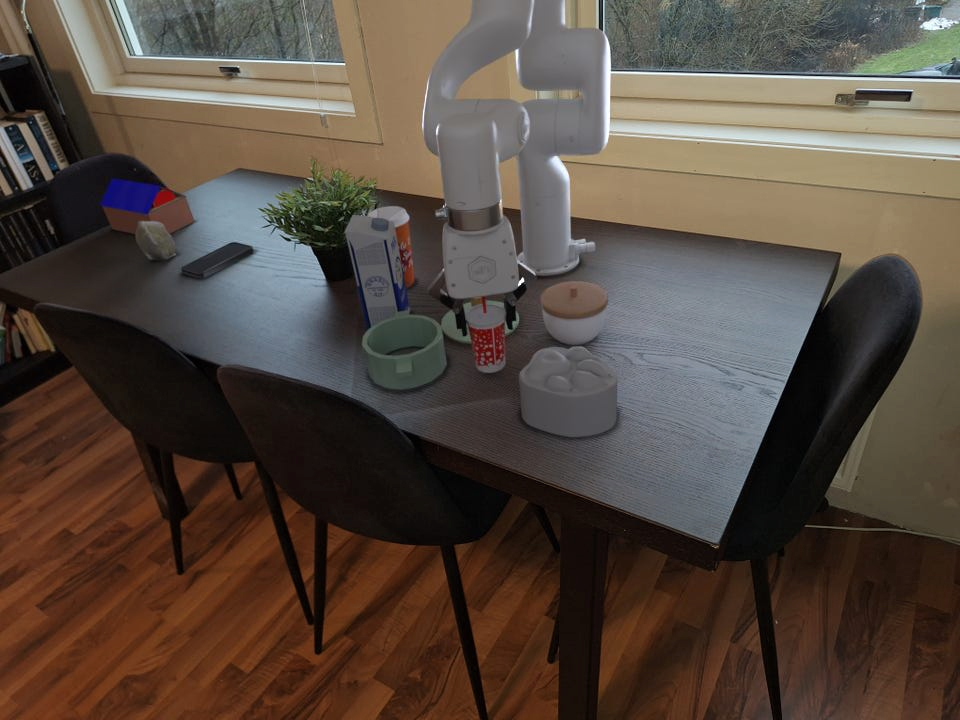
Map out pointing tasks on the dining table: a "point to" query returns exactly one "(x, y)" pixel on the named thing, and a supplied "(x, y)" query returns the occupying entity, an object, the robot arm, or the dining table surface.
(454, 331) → the lid
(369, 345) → the pot
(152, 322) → the dining table surface
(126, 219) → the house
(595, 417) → the lumpy-topped squat cylinder
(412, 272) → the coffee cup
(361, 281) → the milk carton
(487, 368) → the beverage cup
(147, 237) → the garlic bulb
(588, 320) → the trinket box
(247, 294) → the dining table surface
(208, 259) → the phone
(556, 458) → the dining table surface
